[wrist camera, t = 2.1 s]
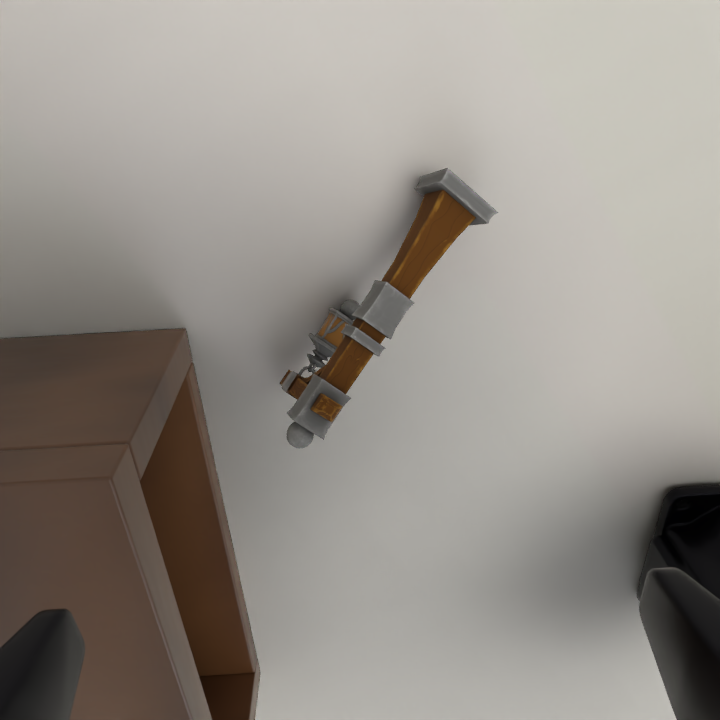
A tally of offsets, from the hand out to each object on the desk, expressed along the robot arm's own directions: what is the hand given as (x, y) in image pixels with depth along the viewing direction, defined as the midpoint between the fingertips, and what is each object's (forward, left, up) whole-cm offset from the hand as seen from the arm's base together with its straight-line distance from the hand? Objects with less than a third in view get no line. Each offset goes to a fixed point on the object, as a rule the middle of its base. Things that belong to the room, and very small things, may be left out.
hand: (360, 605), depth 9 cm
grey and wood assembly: (-1, -1, -11) cm, 11 cm away
